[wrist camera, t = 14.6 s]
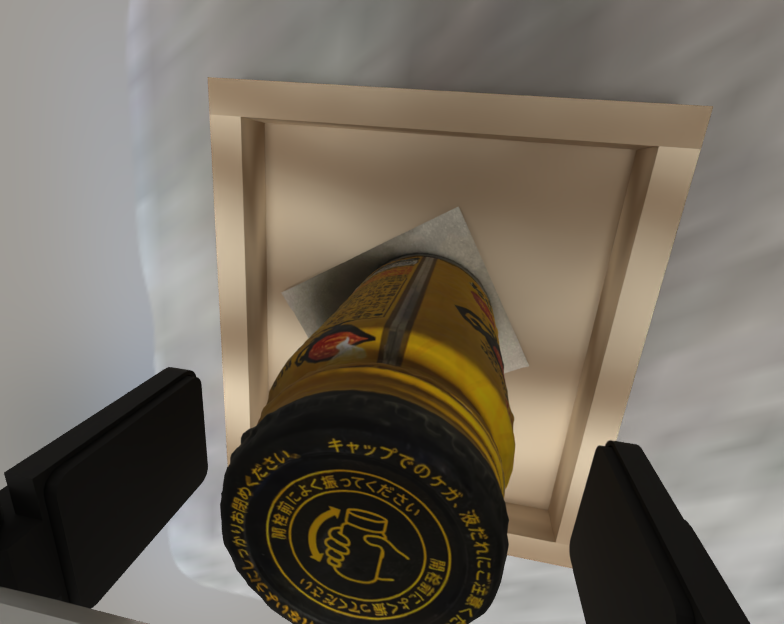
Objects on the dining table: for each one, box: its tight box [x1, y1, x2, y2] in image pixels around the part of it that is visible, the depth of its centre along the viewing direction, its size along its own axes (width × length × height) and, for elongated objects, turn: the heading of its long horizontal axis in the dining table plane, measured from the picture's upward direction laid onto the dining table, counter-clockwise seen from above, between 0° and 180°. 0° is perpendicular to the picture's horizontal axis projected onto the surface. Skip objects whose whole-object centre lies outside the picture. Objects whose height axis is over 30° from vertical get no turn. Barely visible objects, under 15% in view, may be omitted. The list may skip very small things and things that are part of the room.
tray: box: [208, 77, 713, 568], centre depth 18 cm, size 18×16×2 cm
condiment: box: [220, 207, 529, 624], centre depth 13 cm, size 7×8×12 cm
